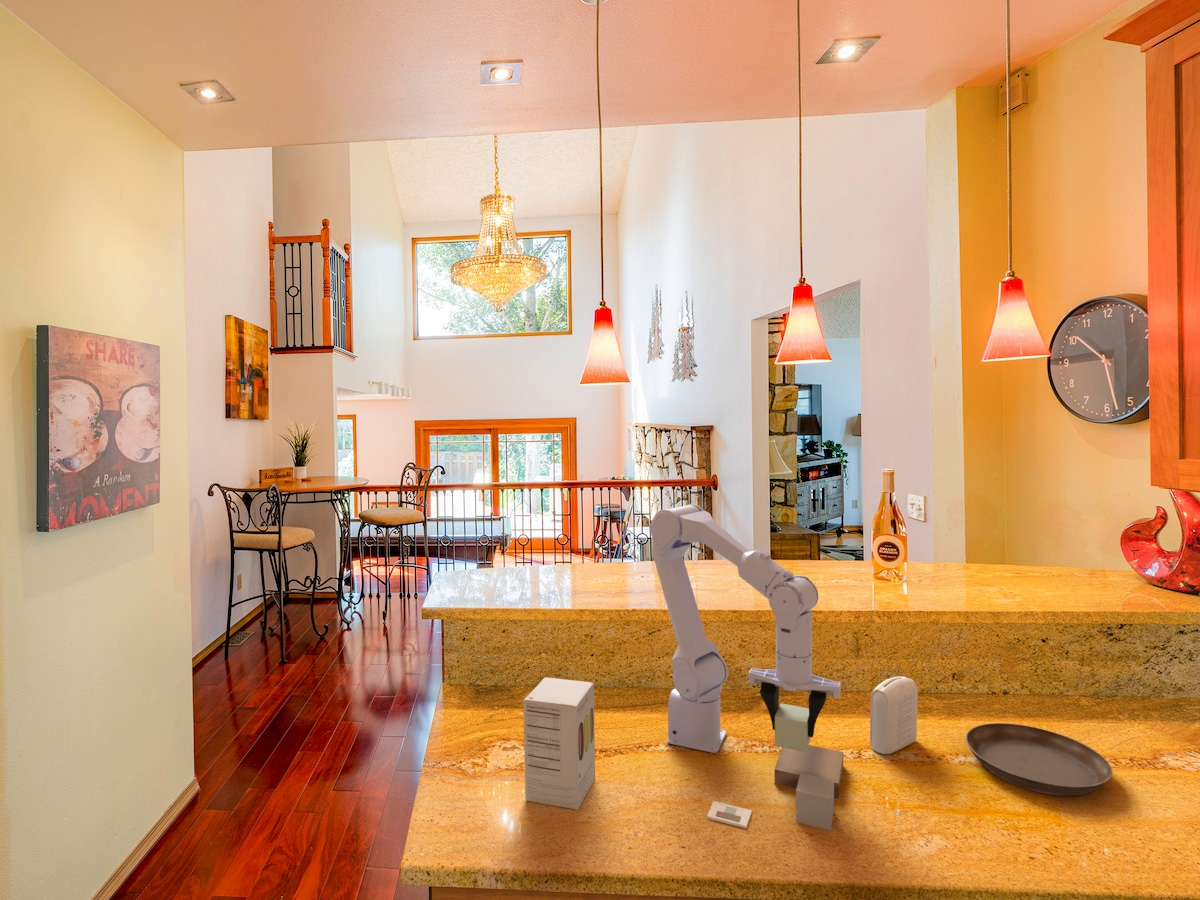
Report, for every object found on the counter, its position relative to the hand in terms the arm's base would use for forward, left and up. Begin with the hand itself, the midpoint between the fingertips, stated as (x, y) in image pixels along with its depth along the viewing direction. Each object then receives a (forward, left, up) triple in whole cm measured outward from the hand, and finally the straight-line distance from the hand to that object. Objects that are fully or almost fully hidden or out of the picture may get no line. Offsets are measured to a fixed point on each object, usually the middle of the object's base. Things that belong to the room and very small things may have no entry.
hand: (793, 730), depth 107 cm
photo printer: (+15, +19, -9) cm, 26 cm away
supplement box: (-35, -17, -9) cm, 40 cm away
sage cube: (0, 0, -2) cm, 2 cm away
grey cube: (+4, -8, -9) cm, 13 cm away
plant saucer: (+37, +20, -9) cm, 43 cm away
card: (-8, -13, -8) cm, 18 cm away
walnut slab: (+2, +3, -9) cm, 10 cm away
